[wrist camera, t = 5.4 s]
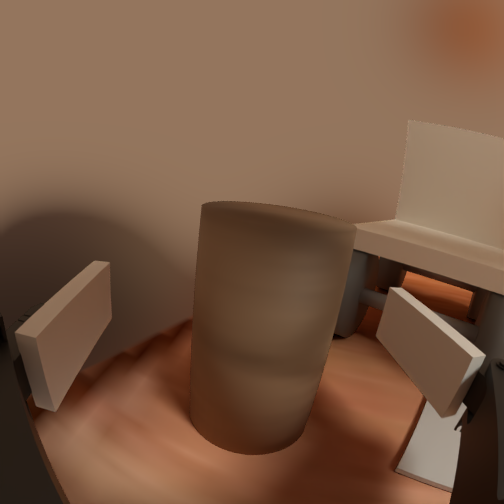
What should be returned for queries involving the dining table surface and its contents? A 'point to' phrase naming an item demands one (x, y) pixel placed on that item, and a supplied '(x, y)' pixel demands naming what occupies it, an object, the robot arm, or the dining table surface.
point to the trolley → (439, 232)
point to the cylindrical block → (263, 320)
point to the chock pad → (433, 449)
